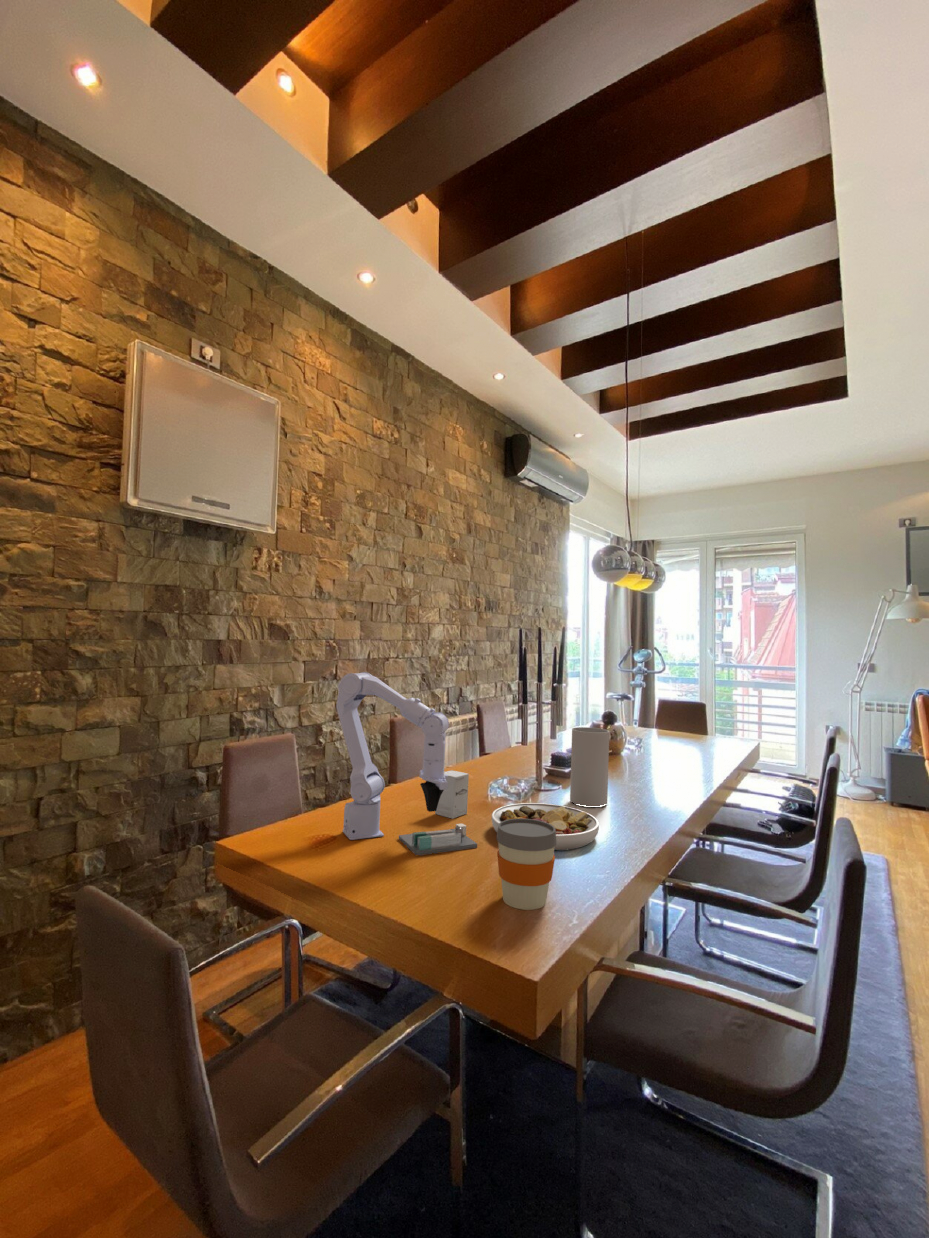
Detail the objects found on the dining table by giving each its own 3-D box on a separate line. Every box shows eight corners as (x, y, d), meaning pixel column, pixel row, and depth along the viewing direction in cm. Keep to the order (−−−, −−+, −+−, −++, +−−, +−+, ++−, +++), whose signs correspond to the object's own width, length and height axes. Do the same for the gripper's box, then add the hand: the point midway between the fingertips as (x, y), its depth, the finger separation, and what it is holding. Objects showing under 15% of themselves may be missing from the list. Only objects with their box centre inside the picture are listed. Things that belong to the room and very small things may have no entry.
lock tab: (459, 835, 155) (459, 826, 155) (455, 832, 157) (455, 824, 157) (466, 834, 156) (466, 825, 156) (462, 832, 158) (462, 823, 158)
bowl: (499, 815, 181) (500, 789, 181) (597, 824, 175) (598, 798, 175) (482, 847, 152) (483, 817, 152) (599, 860, 145) (600, 828, 146)
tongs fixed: (419, 850, 144) (419, 835, 144) (414, 845, 147) (415, 831, 147) (465, 844, 150) (466, 830, 150) (460, 839, 153) (460, 826, 153)
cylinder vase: (562, 802, 198) (564, 728, 199) (584, 796, 206) (586, 726, 207) (593, 810, 189) (595, 733, 190) (614, 804, 197) (616, 731, 198)
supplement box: (453, 819, 174) (454, 777, 174) (434, 814, 178) (436, 772, 179) (467, 814, 180) (469, 773, 180) (449, 809, 184) (450, 769, 185)
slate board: (416, 855, 143) (416, 851, 143) (398, 839, 155) (398, 835, 155) (477, 847, 150) (477, 843, 150) (455, 832, 162) (456, 828, 162)
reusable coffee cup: (567, 904, 119) (569, 830, 120) (521, 919, 112) (524, 841, 112) (527, 882, 129) (529, 815, 130) (482, 895, 122) (484, 823, 123)
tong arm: (413, 846, 146) (414, 834, 146) (412, 844, 147) (412, 832, 147) (452, 841, 150) (452, 830, 150) (450, 839, 152) (450, 828, 152)
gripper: (459, 763, 149) (456, 817, 148) (436, 753, 162) (434, 802, 161) (434, 765, 146) (431, 819, 145) (413, 754, 159) (411, 804, 158)
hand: (431, 810), depth 153 cm, fingers closed
